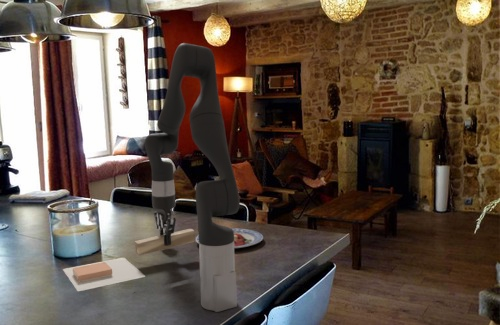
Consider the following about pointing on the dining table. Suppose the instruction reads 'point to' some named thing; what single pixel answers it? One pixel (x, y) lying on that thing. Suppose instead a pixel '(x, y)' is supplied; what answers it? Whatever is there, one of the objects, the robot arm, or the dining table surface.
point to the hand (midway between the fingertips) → (165, 243)
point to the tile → (92, 271)
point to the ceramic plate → (243, 237)
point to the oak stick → (158, 241)
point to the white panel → (120, 273)
